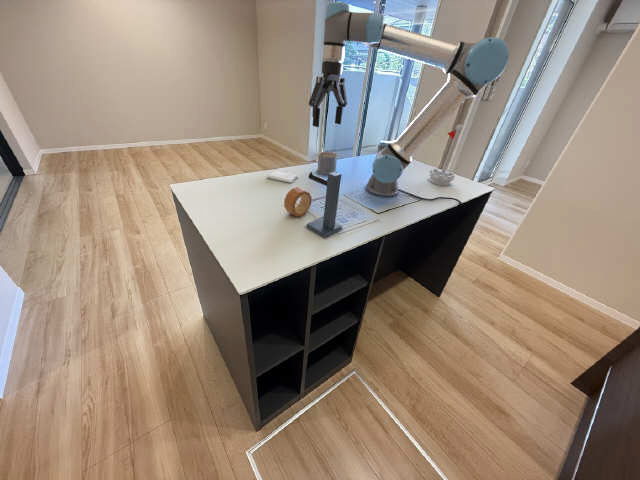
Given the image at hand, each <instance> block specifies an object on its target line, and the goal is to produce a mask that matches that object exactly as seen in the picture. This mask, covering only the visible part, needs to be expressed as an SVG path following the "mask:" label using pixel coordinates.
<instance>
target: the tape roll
mask: <svg viewBox="0 0 640 480" xmlns="http://www.w3.org/2000/svg"><path fill="white" fill-rule="evenodd" d="M284 197H285V198H284V201H283V207H284V209H285V210H286V212H287V213H289V214H291V215H293V216H294V217H298V218H299V217H302V216H305V215H306V214H307V212H308V211H309V210H310V208H311V205H312V200H313V199H312V195H311V193H310V192H309V191H307V190H305V189H303V188H300V187H298V186H296V187H293V188H291V189H290V190H289V191H288V192H287V193H286V195H285V196H284ZM299 199H300V200H299ZM298 200H299V202H298ZM297 202H298V204H297ZM296 204H297V205H296Z"/></svg>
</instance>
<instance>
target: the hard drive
mask: <svg viewBox="0 0 640 480" xmlns="http://www.w3.org/2000/svg"><path fill="white" fill-rule="evenodd" d="M297 178H298V175H296V174H291V173H287V172H281V171H277V170H274V171H272V172H271V173H269V174H268V175H267V179H270V180H274V181H278V182H283V183H289V184H292V183H293V182H294V181H296V180H297Z"/></svg>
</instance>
